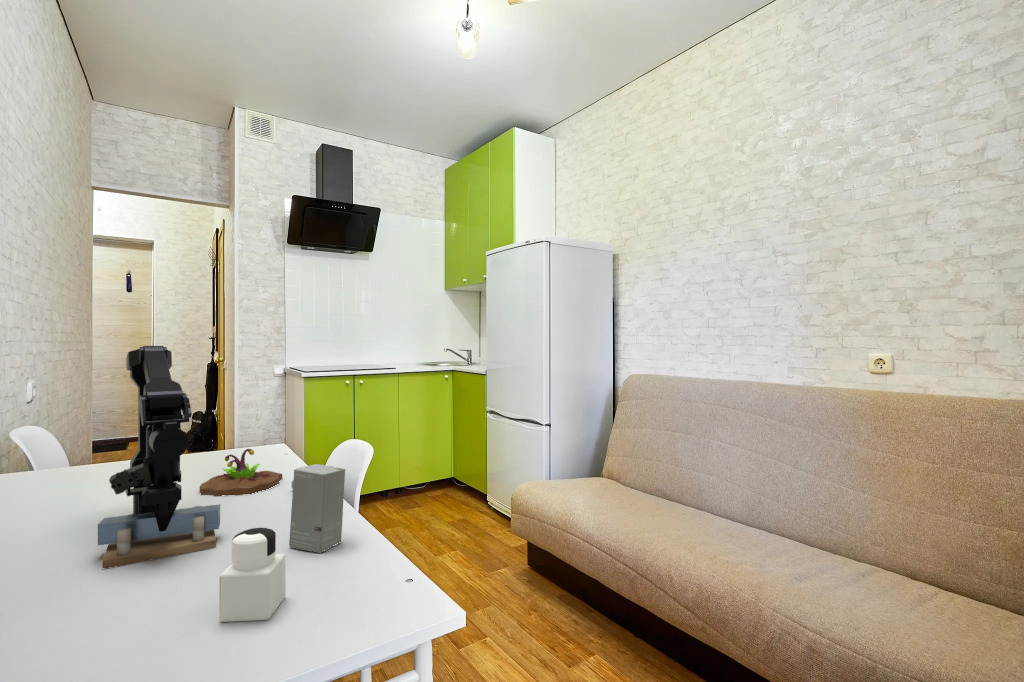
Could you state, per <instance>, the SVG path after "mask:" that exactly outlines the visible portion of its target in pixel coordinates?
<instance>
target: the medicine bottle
mask: <svg viewBox="0 0 1024 682" xmlns="http://www.w3.org/2000/svg"><path fill="white" fill-rule="evenodd" d="M276 535H277V533H276V532H275V531H274V530H273V529H271V528H268V527H253V528H249V529H245V530H242V531H241V532H238V533H237V534H235V535H234V537H233V538H232V540H231V565H229V566H228V567H227V568H226V569H225V570H224V571H223V572H222V573H221V574H219V622H221V623H229V622H230V623H232V622H233V623H234V622H252V621H268V620H270V618H271V617H272V616H273V614H275V611H276V610H277V609H278V608H279V606H280V605H281V604H282V602H283V601H284V599H285V597H286V554H285V553H276V548H277V545H276V542H277V541H276V540H277V539H276V537H277V536H276Z"/></svg>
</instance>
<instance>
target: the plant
mask: <svg viewBox="0 0 1024 682" xmlns="http://www.w3.org/2000/svg"><path fill="white" fill-rule="evenodd" d="M247 453H248V454H249V455H250V456H253V455H254V454H255V450H253V449H252V448H246V449H245V450H243V452H242V453H241V457H240V459H239V458H238V457H237V456H236V455H234V454H228V455H226V456H225V457H224V461H225V462H227V464H226V465H227V467H228V468H229V469H228V468H221V469H222V471H224V472H226V473H223V474H220V475H219V474H217V475H216V476H213V477H211V478H209V479H208V480H207V481H205V482H202V483H200V486H199V494H200V493H201V494H200V496H212V495H213V496H212V497H223V496H222V495H235V496H244V495H243V494H250V495H253V494H252V493H254V494H256V493H255V492H257V493H259V492H258V491H261V492H263V491H262V490H265V491H267V490H266V489H269V488H271V487H273V486H275V485H277V484H279V485H280V482H281V481H282V480H283V474H282V473H279V472H275V471H271V470H261V471H260V470H259V471H256V470H257V469H258V467H260V465H261V464H260V463H256V464H255V465H252V467H250V466H249V465H250V464H249V463H246V461H245V460H246V454H247ZM230 458H232V460H230ZM233 463H235V464H236V465H235V466H236V467H235V466H233V465H234V464H233ZM281 479H282V480H281ZM280 480H281V481H280ZM279 481H280V482H279ZM277 486H278V485H277ZM275 487H276V486H275ZM273 488H274V487H273ZM271 489H272V488H271ZM269 490H270V489H269Z"/></svg>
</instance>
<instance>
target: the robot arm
mask: <svg viewBox="0 0 1024 682" xmlns="http://www.w3.org/2000/svg"><path fill="white" fill-rule="evenodd" d="M125 362H126V364H125V365H126V366H125V367H126V371H129V378H130V379H131V381H132V382H133V383H134V385H135V386H136V388H137V421H138V422H137V425H138V426H137V432H138V433H137V435H138V438H137V439H138V441H137V443H138V444H137V447H138V448H137V450H136V452H135V454H134V455H133V457H131V460H130V461H129V468H125V469H124V470H121V471H120V472H116V473H115V474H112V475H111V476H110V478H109V479H108V481H109V483H110V488H111V489H112V490H113V491H114V494H115V495H121V494H123V493H125V494H126V497H130V496H131V497H132V513H131V515H134V514H142V513H151V512H154V513H155V517H156V521H157V524H158V528H159V531H160V532H161V531H166V529H167V527H168V525H169V522H170V520H171V518H172V516H173V514H174V511H175V510H176V509H177V507H178V505H179V502H180V501H181V500H182V485H181V484H179V483H182V470H181V456H182V455H183V454H185V452H186V451H187V450H188V448H189V446H190V445H189V444H190V438H189V436H188V434H187V433H186V432H185V431H184V430H182V428H181V426H182V425H181V424H183V423H190V418H192V415H193V413H192V407H191V402H190V398H189V397H188V395H187V393H185V392H183V391H184V390H183V389H182V385H181V384H180V383H179V382H177V381H174V380H173V379H172V376H171V372H170V369H171V368H172V367H173V358H172V351H170V349H168V347H167V346H163V345H143V346H139V348H137V349H133V350H130V351H128V352H127V354H126V360H125Z"/></svg>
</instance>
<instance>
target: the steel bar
mask: <svg viewBox="0 0 1024 682" xmlns="http://www.w3.org/2000/svg"><path fill="white" fill-rule="evenodd" d="M201 506H202V507H195V506H192V507H193V508H192V507H187V508H185V507H184V508H176V509H175V511H174V514H173V516H172V518H171V520H170V522H169V525H168V527H167V529H166V531H161V532H160V531H159V528H158V524H157V521H156V517H155V513H154V512H151V513H142V514H134V515H132V514H128V515H127V514H126V515H118V516H110V517H103V518H102V520H101V521H99V522H98V524H97V546H104V545H108V544H113V543H117V531H118V530H120V529H123V528H131V541H135V540H142V539H149V538H157V537H164V536H172V535H179V534H186V533H193V518H194V517H198V516H204V531H208V530H214V531H215V530H219V529H220V524H221V504H220V503H219V504H211V505H201Z"/></svg>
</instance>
